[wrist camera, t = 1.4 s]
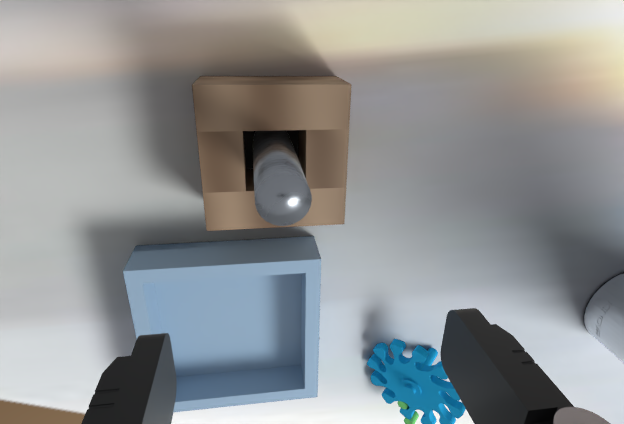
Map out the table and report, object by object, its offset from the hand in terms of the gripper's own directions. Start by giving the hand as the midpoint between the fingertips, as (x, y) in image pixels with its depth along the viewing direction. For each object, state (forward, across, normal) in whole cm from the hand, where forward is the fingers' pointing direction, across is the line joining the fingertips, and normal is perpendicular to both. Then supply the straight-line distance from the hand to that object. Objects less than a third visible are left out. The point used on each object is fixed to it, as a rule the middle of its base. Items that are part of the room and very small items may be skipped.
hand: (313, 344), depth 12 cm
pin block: (+23, 0, 0) cm, 23 cm away
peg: (+23, 0, 0) cm, 23 cm away
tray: (+23, +4, +16) cm, 28 cm away
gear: (+23, -13, +24) cm, 36 cm away
